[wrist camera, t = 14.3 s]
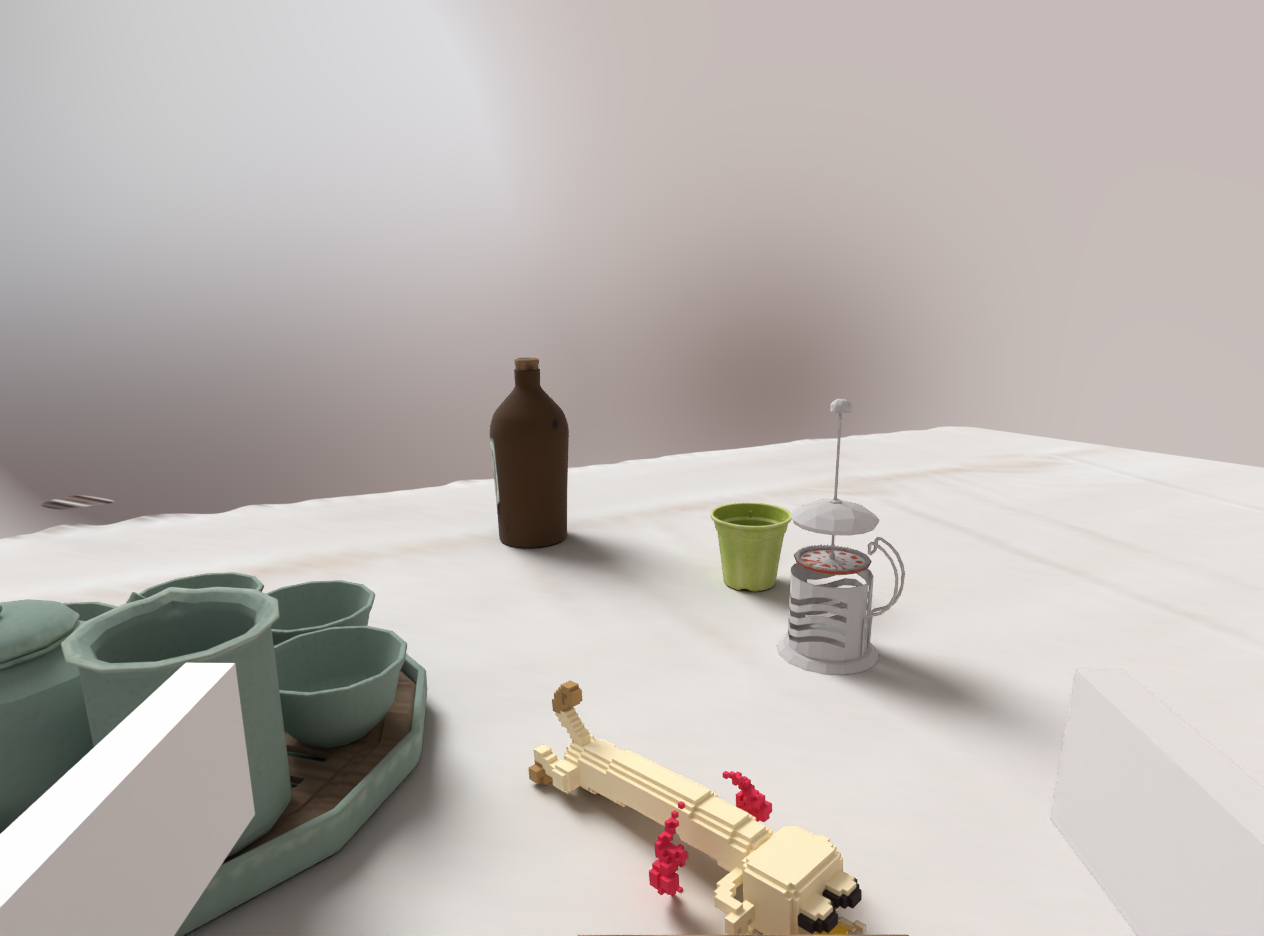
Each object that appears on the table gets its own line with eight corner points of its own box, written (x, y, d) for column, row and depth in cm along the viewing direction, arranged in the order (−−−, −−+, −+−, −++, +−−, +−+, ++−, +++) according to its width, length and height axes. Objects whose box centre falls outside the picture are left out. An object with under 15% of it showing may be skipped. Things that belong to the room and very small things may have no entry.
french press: (802, 620, 85) (814, 387, 79) (911, 650, 79) (933, 398, 73) (758, 655, 78) (767, 400, 72) (874, 691, 71) (895, 414, 65)
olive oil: (578, 527, 117) (574, 355, 111) (561, 552, 106) (555, 364, 100) (508, 524, 118) (500, 354, 112) (484, 548, 108) (474, 363, 102)
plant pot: (740, 604, 90) (743, 531, 87) (694, 577, 98) (695, 509, 95) (805, 588, 94) (809, 518, 92) (755, 563, 102) (758, 498, 100)
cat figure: (508, 814, 58) (803, 1014, 40) (496, 701, 56) (798, 857, 38) (609, 757, 64) (900, 906, 46) (602, 654, 63) (900, 768, 45)
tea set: (508, 676, 75) (499, 507, 71) (146, 1084, 37) (85, 775, 33) (166, 627, 85) (142, 478, 81) (-377, 906, 48) (-471, 656, 44)
